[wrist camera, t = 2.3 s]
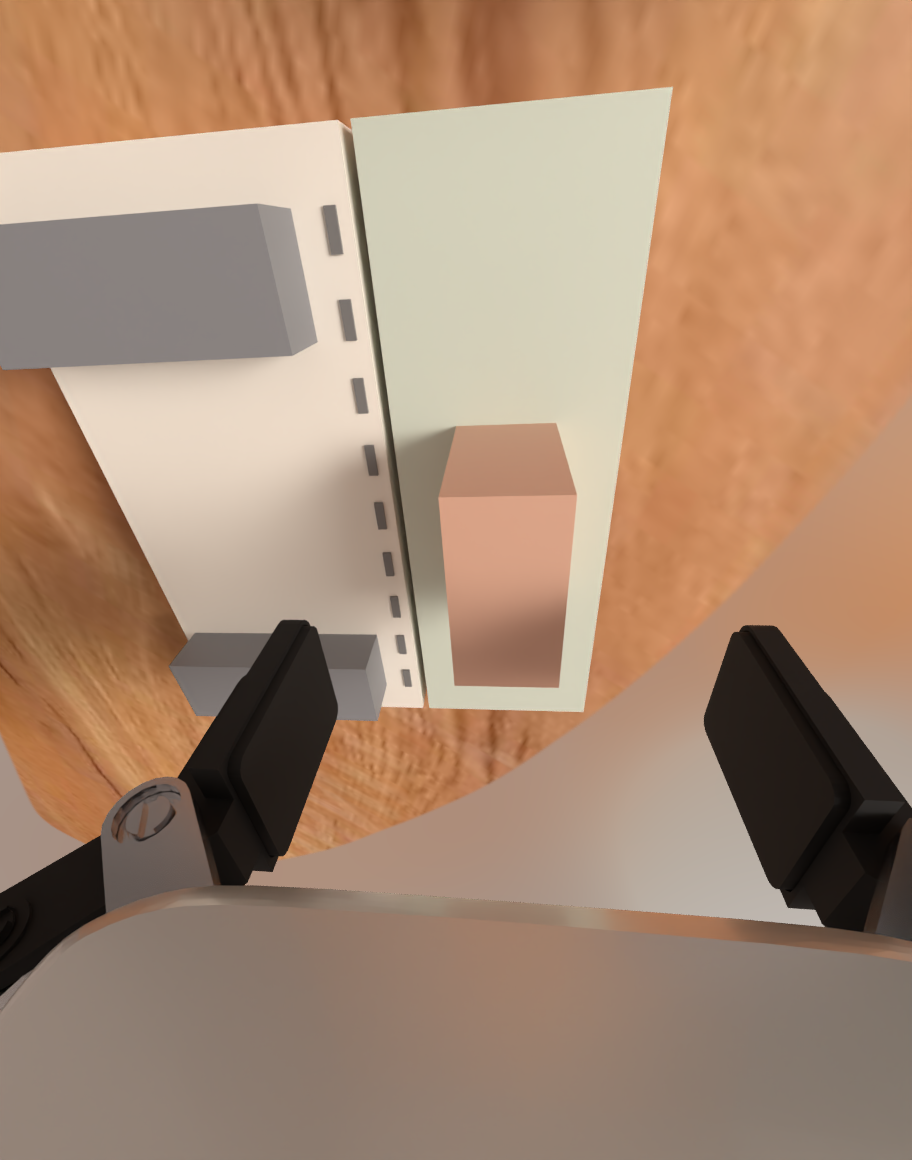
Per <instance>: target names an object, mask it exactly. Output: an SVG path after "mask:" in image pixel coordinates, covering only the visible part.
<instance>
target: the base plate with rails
mask: <svg viewBox="0 0 912 1160" xmlns="http://www.w3.org/2000/svg"><path fill="white" fill-rule="evenodd" d="M0 366H1V367H2V369H3V370H14V369H35V368H51V370H52V372H53V374H54V376H55V378H56V380H57V382H58V384H59V386H60V388H61V390H62V392H63V394H64V396H65V398H66V400H67V402H68V404H69V406H70V408H71V410H72V412H73V414H74V416H75V418H76V420H77V422H78V424H79V426H80V428H81V430H82V432H83V434H84V436H85V438H86V440H87V442H88V443H89V445H90V447H91V449H92V451H93V453H94V455H95V457H96V459H97V461H98V463H99V465H100V467H101V469H102V471H103V473H104V475H105V477H106V479H107V481H108V483H109V485H110V487H111V489H112V491H113V493H114V495H115V497H116V499H117V501H118V503H119V505H120V507H121V509H122V511H123V513H124V515H125V517H126V519H127V521H128V523H129V525H130V527H131V529H132V531H133V533H134V535H135V536H136V538H137V540H138V542H139V544H140V546H141V548H142V550H143V552H144V554H145V556H146V558H147V560H148V562H149V564H150V566H151V568H152V570H153V572H154V574H155V576H156V578H157V580H158V582H159V584H160V586H161V588H162V590H163V592H164V594H165V596H166V598H167V600H168V602H169V604H170V606H171V608H172V610H173V612H174V614H175V616H176V618H177V620H178V622H179V624H180V626H181V628H182V629H183V631H184V633H185V635H186V637H187V639H188V642H187V643H186V645H185V646H184V647H183V649H182V650H181V651H180V652H179V654H178V655H177V656H176V657H175V659H174V660H173V661H172V663H171V664H170V665H169V668H170V670H171V671H172V673H173V675H174V677H175V678H176V680H177V682H178V684H179V686H180V687H181V689H182V691H183V693H184V695H185V696H186V698H187V700H188V702H189V703H190V705H191V707H192V709H193V711H194V712H195V714H196V716H217V715H218V713H219V712H220V710H221V708H222V707H223V705H224V704H225V702H226V701H227V699H228V697H229V696H230V694H231V693H232V691H233V690H234V688H235V686H236V685H237V683H238V682H239V681H240V679H241V678H242V677H243V676H245V675H247V673H248V671H249V670H250V668H251V667H252V665H253V663H254V662H255V660H256V659H257V657H258V655H259V654H260V652H261V651H262V649H263V647H264V646H265V644H266V643H267V641H268V640H269V638H270V636H271V635H272V633H273V632H274V630H275V628H276V627H277V625H278V624H279V622H280V621H282V620H307V621H308V622H309V624H310V626H315V627H316V628H317V631H318V634H319V638H320V641H321V645H322V649H323V652H324V656H325V660H326V663H327V667H328V670H329V674H330V678H331V681H332V685H333V688H334V692H335V696H336V699H337V703H338V715H337V719H336V720H363V721H378V717H379V713H380V709H381V707H413V708H423V705H424V699H425V694H426V688H427V686H426V678H425V671H424V663H423V656H422V648H421V641H420V634H419V626H418V619H417V611H416V604H415V596H414V589H413V581H412V574H411V566H410V559H409V551H408V544H407V536H406V529H405V522H404V514H403V507H402V499H401V492H400V484H399V477H398V469H397V462H396V454H395V447H394V439H393V432H392V424H391V417H390V410H389V402H388V395H387V387H386V380H385V372H384V365H383V357H382V350H381V342H380V335H379V327H378V320H377V313H376V305H375V298H374V290H373V283H372V275H371V268H370V260H369V253H368V245H367V238H366V230H365V223H364V215H363V208H362V201H361V193H360V186H359V178H358V171H357V163H356V156H355V148H354V141H353V133H352V130H351V129H349V128H348V127H347V126H345V125H344V124H343V123H341V122H340V121H338V120H331V121H321V122H311V123H301V124H291V125H280V126H270V127H260V128H250V129H240V130H230V131H219V132H209V133H199V134H189V135H179V136H168V137H158V138H148V139H138V140H128V141H118V142H107V143H97V144H87V145H77V146H67V147H56V148H46V149H36V150H26V151H16V152H6V153H0Z"/></svg>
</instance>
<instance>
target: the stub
mask: <svg viewBox="0 0 912 1160" xmlns="http://www.w3.org/2000/svg"><path fill="white" fill-rule="evenodd" d="M672 89H673V87H667V88H657V89H647V90H637V91H627V92H616V93H606V94H596V95H586V96H576V97H566V98H555V99H545V100H535V101H525V102H515V103H504V104H494V105H484V106H474V107H464V108H454V109H443V110H433V111H423V112H413V113H403V114H392V115H382V116H372V117H362V118H352V119H351V126H352V133H353V141H354V148H355V156H356V163H357V171H358V178H359V186H360V193H361V201H362V208H363V215H364V223H365V230H366V238H367V245H368V253H369V260H370V268H371V275H372V283H373V290H374V298H375V305H376V313H377V320H378V327H379V335H380V342H381V350H382V357H383V365H384V372H385V380H386V387H387V395H388V402H389V410H390V417H391V424H392V432H393V439H394V447H395V454H396V462H397V469H398V477H399V484H400V492H401V499H402V507H403V514H404V522H405V529H406V536H407V544H408V551H409V559H410V566H411V574H412V581H413V589H414V596H415V604H416V611H417V619H418V626H419V634H420V641H421V648H422V656H423V663H424V671H425V678H426V686H427V693H428V701H429V708H453V709H492V710H531V711H570V712H584V705H585V698H586V691H587V684H588V677H589V670H590V663H591V656H592V649H593V642H594V635H595V628H596V621H597V614H598V607H599V600H600V593H601V586H602V579H603V572H604V565H605V558H606V551H607V544H608V537H609V530H610V523H611V516H612V509H613V502H614V495H615V488H616V481H617V474H618V467H619V460H620V453H621V446H622V439H623V432H624V425H625V418H626V411H627V404H628V397H629V390H630V383H631V376H632V369H633V362H634V355H635V348H636V341H637V334H638V327H639V320H640V313H641V306H642V299H643V292H644V285H645V278H646V271H647V264H648V257H649V250H650V243H651V236H652V229H653V222H654V215H655V208H656V201H657V194H658V187H659V180H660V173H661V166H662V159H663V152H664V145H665V138H666V131H667V124H668V117H669V110H670V103H671V96H672Z"/></svg>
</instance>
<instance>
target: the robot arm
mask: <svg viewBox="0 0 912 1160" xmlns="http://www.w3.org/2000/svg"><path fill="white" fill-rule="evenodd" d="M337 715H338V703H337V699H336V696H335V692H334V688H333V685H332V681H331V678H330V674H329V670H328V667H327V663H326V660H325V656H324V652H323V649H322V645H321V641H320V638H319V634H318V631H317V628H316V627H315V626H310V624H309V622H308V621H307V620H282V621H280V622H279V624H278V625H277V627H276V628H275V630H274V632H273V633H272V635H271V636H270V638H269V640H268V641H267V643H266V644H265V646H264V647H263V649H262V651H261V652H260V654H259V655H258V657H257V659H256V660H255V662H254V663H253V665H252V667H251V668H250V670H249V671H248V673H247V675H245V676H243V677H242V678H241V679H240V681H239V682H238V683H237V685H236V686H235V688H234V690H233V691H232V693H231V694H230V696H229V697H228V699H227V701H226V702H225V704H224V705H223V707H222V708H221V710H220V712H219V713H218V715H217V716H216V718H215V719H214V721H213V723H212V724H211V726H210V727H209V729H208V730H207V732H206V734H205V735H204V737H203V738H202V740H201V742H200V743H199V745H198V746H197V748H196V749H195V751H194V753H193V754H192V756H191V757H190V759H189V760H188V762H187V764H186V765H185V767H184V768H183V770H182V771H181V773H180V775H179V776H178V778H174V777H162V778H155V779H153V780H150V781H147V782H145V783H142V784H141V785H139V786H137V787H136V788H134V789H132V790H131V791H129V792H128V793H127V794H126V795H124V796H123V797H122V798H121V799H120V800H119V801H117V803H116V804H115V805H114V806H113V808H112V809H111V810H110V811H109V813H108V814H107V817H106V819H105V821H104V823H103V825H102V831H101V835H100V836H99V837H97V838H95V839H94V840H92V841H90V842H88V843H87V844H85V845H83V846H81V847H80V848H78V849H76V850H74V851H73V852H71V853H69V854H68V855H66V856H64V857H62V858H61V859H59V860H57V861H56V862H54V863H52V864H50V865H49V866H47V867H45V868H43V869H42V870H40V871H38V872H36V873H35V874H33V875H31V876H30V877H28V878H26V879H25V880H23V881H21V882H19V883H18V884H16V885H14V886H13V887H10V888H9V889H7V890H6V891H4V892H2V893H0V1160H912V808H911V806H910V805H909V804H908V802H907V801H906V800H905V798H904V797H903V795H902V794H901V793H900V791H899V790H898V789H897V787H896V786H895V784H894V783H893V782H892V780H891V779H890V778H889V776H888V775H887V774H886V772H885V771H884V770H883V768H882V767H881V766H880V764H879V763H878V761H877V760H876V759H875V757H874V756H873V755H872V753H871V752H870V751H869V749H868V748H867V747H866V745H865V744H864V742H863V741H862V740H861V739H860V737H859V736H858V734H857V733H856V731H855V730H854V729H853V728H852V726H851V725H850V723H849V722H848V721H847V719H846V718H845V717H844V715H843V714H842V712H841V711H840V710H839V709H838V707H837V706H836V704H835V703H834V702H833V700H832V699H831V698H830V697H829V696H828V695H827V693H826V692H824V690H823V689H822V688H821V686H820V685H819V683H818V682H817V681H816V679H815V678H814V677H813V675H812V674H811V673H810V671H809V670H808V668H807V667H806V666H805V664H804V663H803V662H802V660H801V659H800V658H799V656H798V655H797V653H796V652H795V651H794V649H793V648H792V647H791V645H790V644H789V643H788V641H787V640H786V638H785V637H784V636H783V634H782V633H781V632H780V630H779V629H778V628H777V627H775V626H760V625H759V626H758V625H757V626H756V625H755V626H753V625H746V626H743V627H742V628H741V630H740V631H739V632H734V633H733V634H732V636H731V638H730V642H729V644H728V647H727V650H726V653H725V656H724V659H723V662H722V665H721V668H720V671H719V674H718V677H717V680H716V683H715V686H714V688H713V692H712V695H711V697H710V700H709V703H708V706H707V709H706V712H705V715H704V726H705V730H706V733H707V736H708V738H709V740H710V743H711V745H712V748H713V750H714V752H715V755H716V757H717V760H718V762H719V764H720V767H721V769H722V771H723V774H724V776H725V779H726V781H727V784H728V786H729V788H730V791H731V793H732V795H733V798H734V800H735V802H736V805H737V807H738V809H739V812H740V815H741V817H742V819H743V822H744V824H745V826H746V829H747V831H748V833H749V836H750V838H751V841H752V843H753V846H754V848H755V850H756V853H757V855H758V857H759V860H760V862H761V865H762V867H763V869H764V872H765V874H766V877H767V879H768V881H769V883H770V884H771V885H772V886H773V887H774V888H776V889H780V891H781V893H782V895H783V898H784V900H785V902H786V905H787V907H788V908H798V909H812V910H813V909H814V910H816V912H817V914H818V916H819V918H820V920H821V923H822V924H823V925H824V926H825V927H816V926H806V925H796V924H785V923H775V922H764V921H754V920H743V919H731V918H719V917H706V916H693V915H680V914H679V915H678V914H667V913H654V912H641V911H628V910H615V909H602V908H588V907H575V906H562V905H548V904H534V903H521V902H507V901H493V900H492V901H491V900H479V899H465V898H451V897H437V896H422V895H406V894H391V893H377V892H361V891H347V890H333V889H313V888H294V887H272V886H245V884H246V883H247V882H248V880H249V878H250V875H251V873H252V870H253V871H267V872H273V869H274V866H275V864H276V862H277V859H278V856H284V855H285V854H286V852H287V851H288V848H289V846H290V843H291V841H292V838H293V835H294V832H295V830H296V827H297V824H298V822H299V819H300V816H301V814H302V811H303V808H304V806H305V803H306V800H307V797H308V795H309V792H310V789H311V787H312V784H313V781H314V779H315V776H316V773H317V771H318V768H319V765H320V762H321V760H322V757H323V754H324V752H325V749H326V746H327V744H328V741H329V738H330V735H331V733H332V730H333V727H334V725H335V722H336V719H337Z"/></svg>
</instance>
